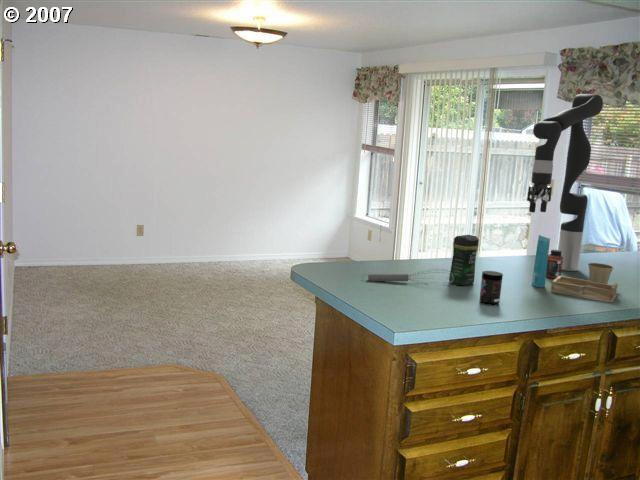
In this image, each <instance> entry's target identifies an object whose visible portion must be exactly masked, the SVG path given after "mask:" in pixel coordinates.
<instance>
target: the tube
mask: <svg viewBox="0 0 640 480" xmlns="http://www.w3.org/2000/svg"><path fill="white" fill-rule="evenodd" d="M550 240H551V238H549V237H545V236H543V235H538V237H537V244H536V245H537V246H536V250H535V258H534V266H533V271H532V279H531V286H533V287H536V288H545V286H546V279H547V277H546V271H547V262H548V255H549V253H550V243H551V241H550Z"/></svg>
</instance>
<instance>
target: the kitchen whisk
mask: <svg viewBox="0 0 640 480" xmlns="http://www.w3.org/2000/svg"><path fill="white" fill-rule="evenodd" d="M432 271H433V274H437V273H439V274H440V273H442V274H444V272H445V271H446V272H447V274H448V275H447V277H448V278H447V280H449V279H451V278H449V277H452V276H453V275H452V276H450V275H451V274H452V273H451V274H450V271H449V270H448V269H445V268H442V269H436V268H434V269H433V268H432V269H431V270H429V269H427V270H425V271H424V270H422V271H421V274H424V276H421V277H415V276H418V275H420V271H418V272H415V273H412V274H411V273H410V274H408V273H371V274H370V273H365V274H363V275H362V276H361V277H362V280H363V281H366V280H365V279H364V278H363V277H364V276H366V275H367V280H368V281H369V282H409V281H410V282H415V283H418V284H421V285H427V286H428V285H429V282H427V281H425V280H426V277H427V278H428V277H430V278H431V277H434V275H429V276H426V275H425V274H428V273H432ZM448 272H449V273H448ZM410 277H415V279H414V278H410ZM423 277H424V278H423ZM416 279H418V280H416ZM419 279H422V280H423V281H420V280H419ZM453 280H454V277H453V279H452V281H453ZM452 281H451V282H449V281H448V282H447V281H446V282H444V287H446V286H448V285H449V286H450V285H451V284H453V283H452ZM432 283H436V284H438V282H433V281H431V284H432Z"/></svg>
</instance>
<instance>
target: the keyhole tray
mask: <svg viewBox="0 0 640 480" xmlns="http://www.w3.org/2000/svg"><path fill="white" fill-rule="evenodd" d="M618 285H619V284H618V283H616V282H615V283H614V284H602V283H596V282H590V281H589V279H588V280H586V279H581V278H575V277H569V276H565V275H564V276H563V275H561V276H558V277H557V278H556V279H554V278H553V280H552V281H551V285H550V293H556V294H559V295H560V294H561V295H566V296H571V297H578V298H582V299H589V300H594V301H600V302H604V303H605V302H606V303H609V304H610V303H611V304H612V303H613V301H614V300H615V298H616V297H617V294H618V293H617V291H618V290H617V289H618Z"/></svg>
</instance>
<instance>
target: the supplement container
mask: <svg viewBox="0 0 640 480" xmlns="http://www.w3.org/2000/svg"><path fill="white" fill-rule="evenodd" d="M481 272H482V273H481V283H480V290H479V291H480V292H479V302H480V303H481V304H482V305H487V306H498V305H499V304H500V301H501V295H502V294H501V291H502V285H503V283H502V282H503V279H504V278H503V277H504V274H503V273H502V272H499V271H494V270H483V271H481Z"/></svg>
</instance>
